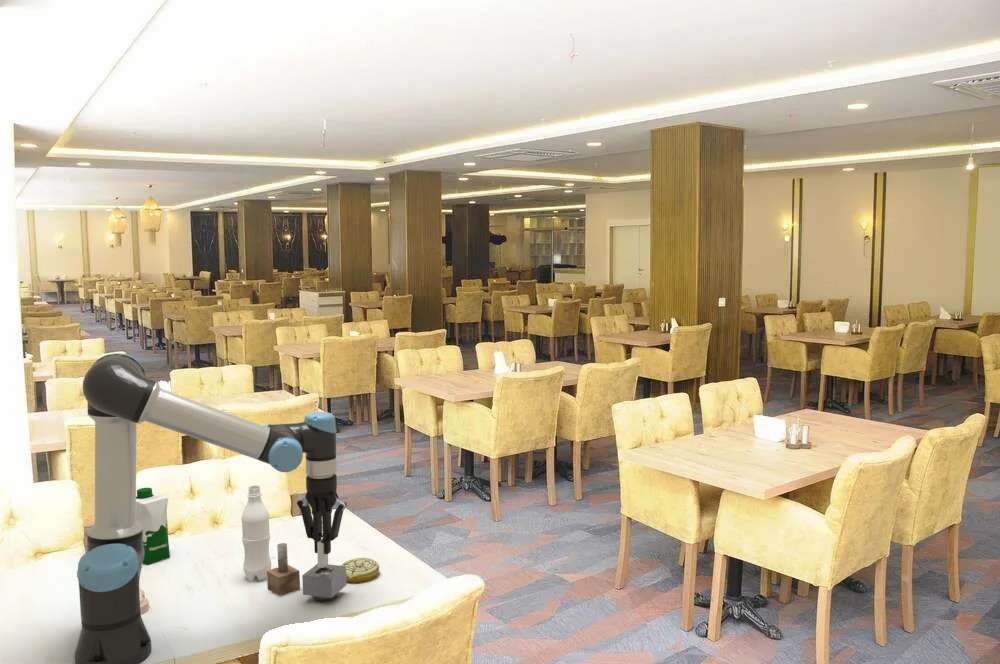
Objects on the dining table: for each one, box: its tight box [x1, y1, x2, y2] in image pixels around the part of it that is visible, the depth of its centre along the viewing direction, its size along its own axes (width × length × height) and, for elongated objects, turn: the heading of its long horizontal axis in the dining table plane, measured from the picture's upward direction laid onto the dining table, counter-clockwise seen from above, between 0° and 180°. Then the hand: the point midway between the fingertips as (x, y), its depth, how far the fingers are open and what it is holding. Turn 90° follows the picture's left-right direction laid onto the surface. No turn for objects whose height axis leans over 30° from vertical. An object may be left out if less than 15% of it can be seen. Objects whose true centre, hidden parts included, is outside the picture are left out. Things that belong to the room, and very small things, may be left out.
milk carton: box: [136, 487, 171, 566], centre depth 231 cm, size 9×9×20 cm
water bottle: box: [240, 485, 272, 582], centre depth 217 cm, size 7×7×25 cm
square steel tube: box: [301, 563, 348, 598], centre depth 205 cm, size 8×8×5 cm
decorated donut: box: [340, 557, 380, 584], centre depth 219 cm, size 10×11×4 cm
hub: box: [312, 571, 339, 604], centre depth 205 cm, size 6×6×6 cm
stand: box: [266, 542, 301, 597], centre depth 210 cm, size 6×6×12 cm
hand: (323, 565), depth 204 cm, fingers closed
